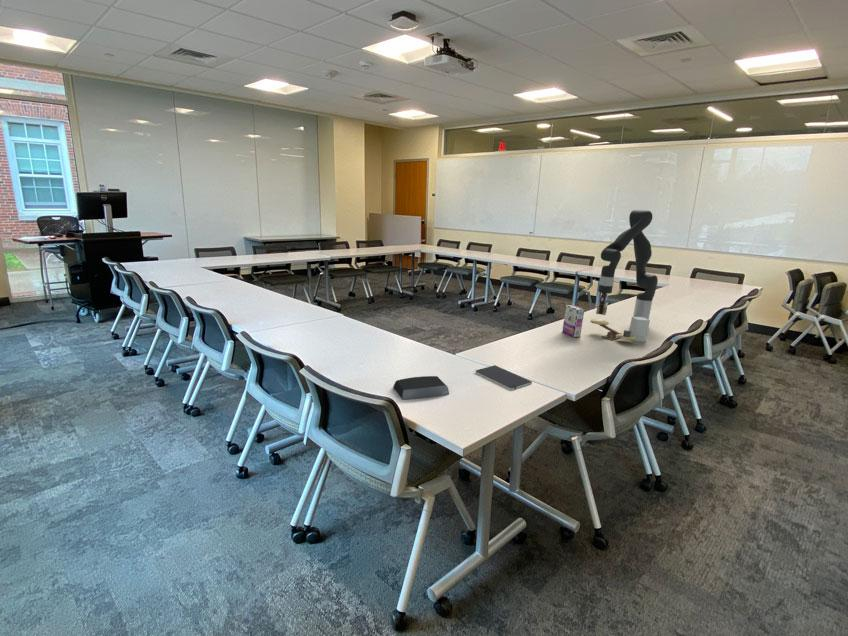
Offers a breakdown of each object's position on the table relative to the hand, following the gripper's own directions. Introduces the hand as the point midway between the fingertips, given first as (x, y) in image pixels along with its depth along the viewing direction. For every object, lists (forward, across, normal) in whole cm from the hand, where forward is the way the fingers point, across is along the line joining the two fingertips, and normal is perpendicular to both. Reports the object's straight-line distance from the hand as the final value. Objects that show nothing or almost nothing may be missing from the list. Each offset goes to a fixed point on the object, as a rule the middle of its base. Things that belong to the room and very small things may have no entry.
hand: (601, 312), depth 262 cm
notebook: (+14, +97, -27) cm, 102 cm away
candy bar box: (+13, +12, -13) cm, 22 cm away
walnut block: (0, 0, 0) cm, 0 cm away
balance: (+13, +4, +8) cm, 15 cm away
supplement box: (+13, -2, +21) cm, 25 cm away
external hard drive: (+14, +128, -50) cm, 138 cm away
